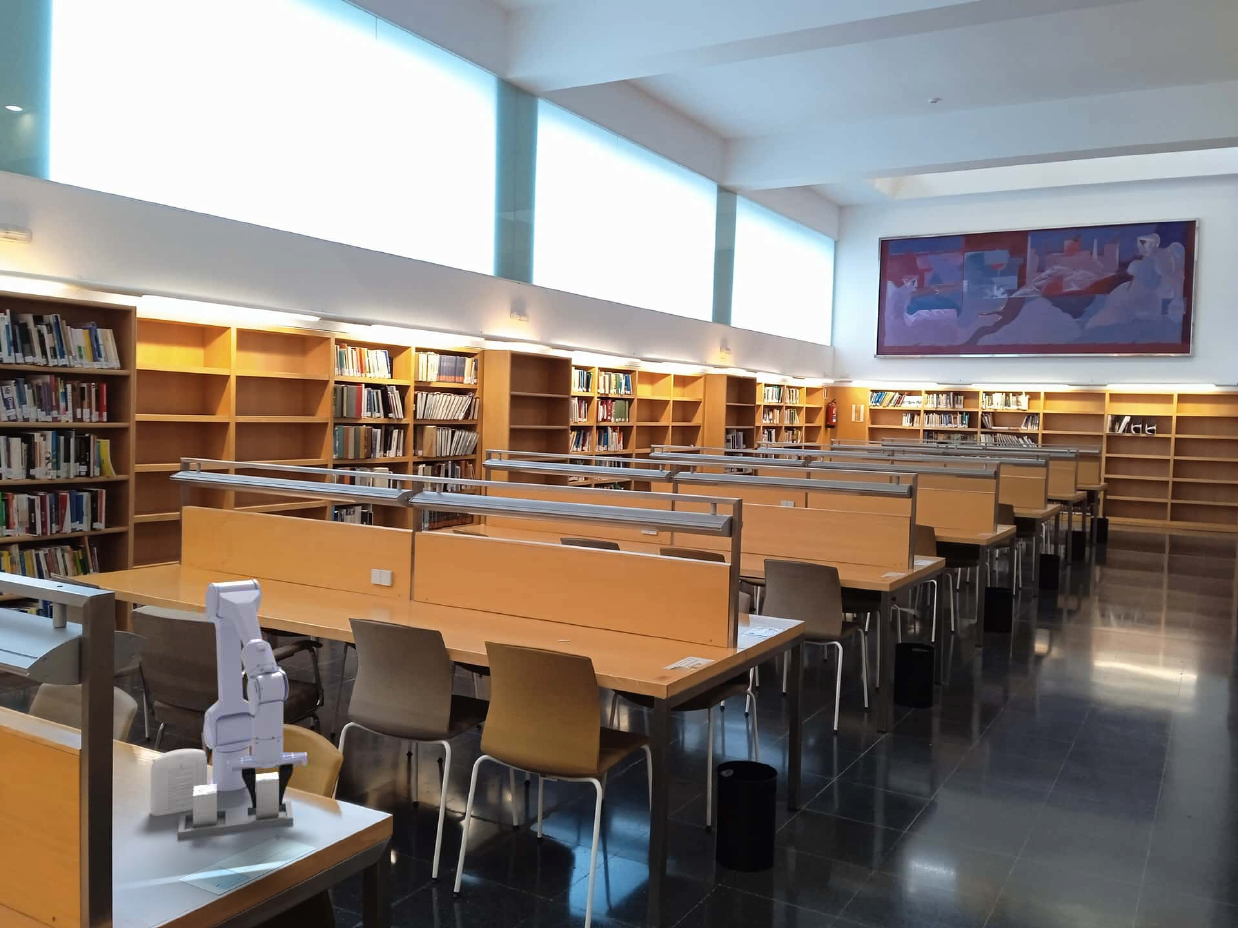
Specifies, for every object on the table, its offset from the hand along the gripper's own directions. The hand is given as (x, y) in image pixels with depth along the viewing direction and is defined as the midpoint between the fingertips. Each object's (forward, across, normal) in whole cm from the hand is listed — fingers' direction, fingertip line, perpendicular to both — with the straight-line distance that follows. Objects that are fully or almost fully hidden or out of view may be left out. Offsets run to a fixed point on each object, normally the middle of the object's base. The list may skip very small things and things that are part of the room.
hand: (267, 804), depth 187 cm
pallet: (+3, -6, 0) cm, 6 cm away
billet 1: (+3, -11, 0) cm, 11 cm away
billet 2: (+2, 0, 0) cm, 2 cm away
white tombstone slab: (+4, -16, +11) cm, 20 cm away
